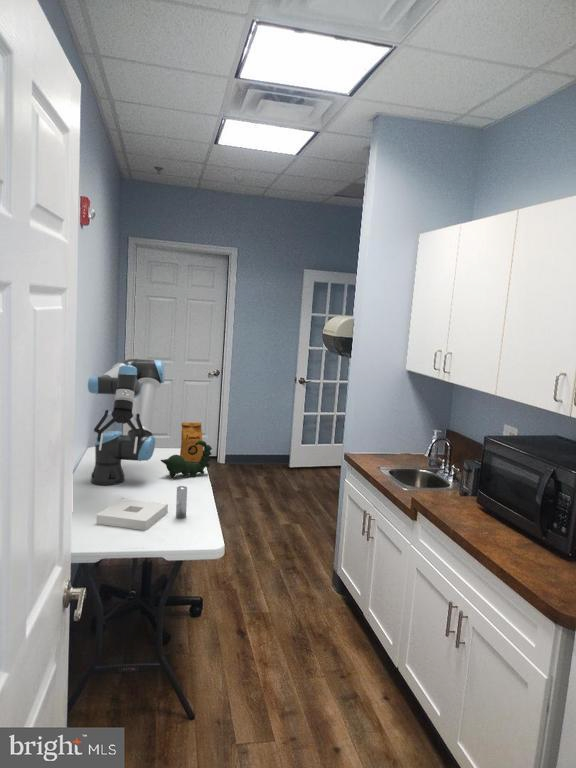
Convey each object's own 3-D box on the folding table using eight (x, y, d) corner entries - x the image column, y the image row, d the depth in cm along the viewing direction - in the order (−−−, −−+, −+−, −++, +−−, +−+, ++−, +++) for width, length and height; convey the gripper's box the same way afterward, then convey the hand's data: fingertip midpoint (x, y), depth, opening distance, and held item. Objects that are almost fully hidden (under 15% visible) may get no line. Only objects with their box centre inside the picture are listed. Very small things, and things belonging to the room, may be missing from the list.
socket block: (122, 506, 225) (122, 498, 224) (167, 512, 221) (167, 503, 221) (96, 523, 205) (96, 514, 205) (145, 530, 202) (146, 521, 201)
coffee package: (203, 463, 297) (204, 424, 295) (180, 463, 294) (181, 423, 292) (202, 459, 307) (203, 420, 304) (179, 459, 304) (180, 420, 302)
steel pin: (178, 514, 219) (179, 485, 218) (187, 515, 219) (188, 486, 217) (174, 517, 215) (175, 488, 214) (183, 519, 215) (184, 489, 213)
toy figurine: (204, 475, 282) (156, 474, 271) (209, 439, 281) (161, 437, 269) (210, 480, 274) (160, 479, 262) (214, 443, 272) (165, 441, 261)
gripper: (92, 395, 220) (85, 446, 213) (155, 402, 228) (150, 452, 221) (92, 399, 227) (84, 450, 220) (153, 407, 235) (147, 455, 228)
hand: (117, 451), depth 221 cm, fingers open, 13 cm apart
